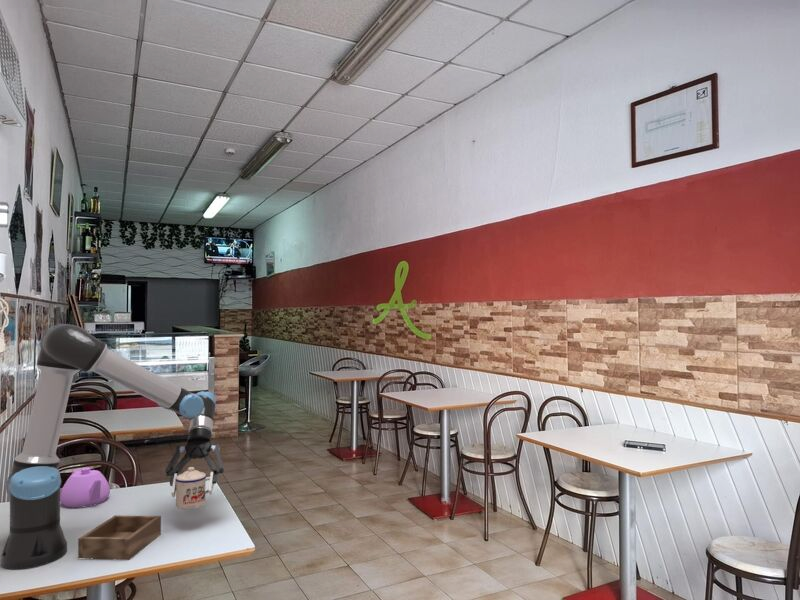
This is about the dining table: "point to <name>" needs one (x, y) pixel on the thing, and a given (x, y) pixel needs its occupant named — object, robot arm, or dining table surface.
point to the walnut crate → (119, 537)
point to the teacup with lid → (191, 489)
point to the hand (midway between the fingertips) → (191, 493)
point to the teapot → (84, 488)
